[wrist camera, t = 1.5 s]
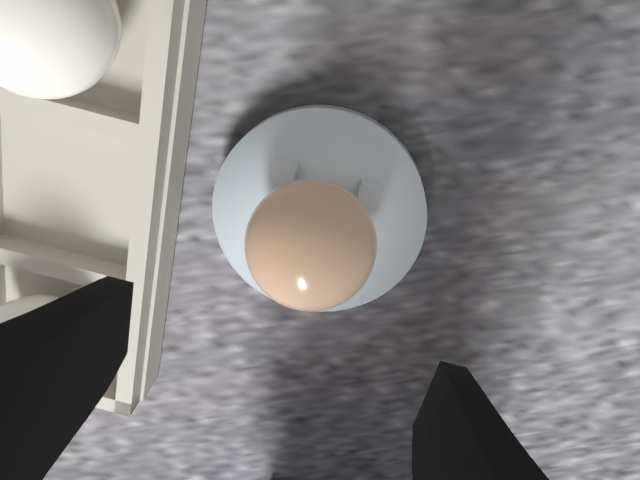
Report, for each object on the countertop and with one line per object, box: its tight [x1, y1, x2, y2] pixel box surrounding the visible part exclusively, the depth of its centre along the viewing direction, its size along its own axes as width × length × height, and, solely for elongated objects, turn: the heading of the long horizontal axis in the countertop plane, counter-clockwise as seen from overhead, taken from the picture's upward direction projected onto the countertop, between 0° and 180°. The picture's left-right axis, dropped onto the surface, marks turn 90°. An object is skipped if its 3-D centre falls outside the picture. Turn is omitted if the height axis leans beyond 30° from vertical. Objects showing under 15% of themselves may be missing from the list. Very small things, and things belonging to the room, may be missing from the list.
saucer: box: [212, 104, 427, 312], centre depth 20 cm, size 8×8×2 cm
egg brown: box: [244, 179, 377, 312], centre depth 17 cm, size 4×4×4 cm
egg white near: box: [0, 0, 121, 99], centre depth 15 cm, size 4×4×4 cm
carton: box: [0, 0, 207, 416], centre depth 20 cm, size 7×19×3 cm, turn 166°
